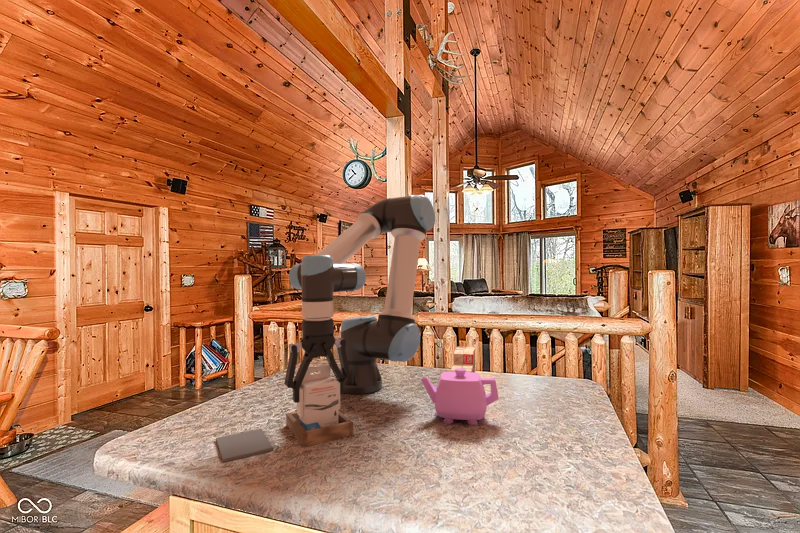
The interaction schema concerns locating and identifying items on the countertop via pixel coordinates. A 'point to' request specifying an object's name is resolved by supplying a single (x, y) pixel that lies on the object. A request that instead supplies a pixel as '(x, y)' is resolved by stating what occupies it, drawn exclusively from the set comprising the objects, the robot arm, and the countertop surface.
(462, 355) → the stack of blocks
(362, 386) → the robot arm
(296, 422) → the walnut frame
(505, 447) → the countertop surface
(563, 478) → the countertop surface
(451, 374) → the teapot
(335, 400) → the ink box
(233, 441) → the rubber mat
